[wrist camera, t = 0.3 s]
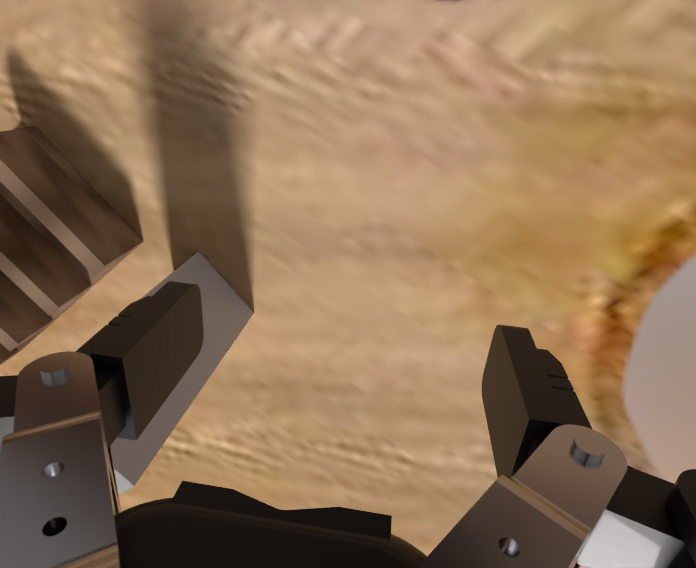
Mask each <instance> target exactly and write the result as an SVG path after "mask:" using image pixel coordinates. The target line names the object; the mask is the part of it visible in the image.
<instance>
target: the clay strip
mask: <svg viewBox="0 0 696 568" xmlns="http://www.w3.org/2000/svg"><path fill="white" fill-rule="evenodd" d="M169 281H175V282H182V283H190V284H196V285H198V286H199V288H200V291H201V302H202V315H203V329H204V339H203V344H202V348H201V351H200V353H199V355H198V356H197V358H196V359H195V361H194V362H193V363H192V365H191V366H190V367H189V369H188V370H187V372H186V373H185V374H184V376H183V377H182V379H181V380H180V381H179V383H178V384H177V385H176V387H175V388H174V390H173V391H172V392H171V394H170V395H169V396H168V398H167V399H166V401H165V402H164V403H163V405H162V406H161V408H160V409H159V410H158V412H157V413H156V414H155V416H154V417H153V419H152V420H151V421H150V423H149V424H148V426H147V427H146V428H145V430H144V431H143V432H142V434H141V435H140V437H139V438H138V439H137V441H136V440H129V439H123V438H116V439H115V441H114V442H113V443H112V444H111V446H110V447H111V451H112V457H113V463H114V469H115V475H116V482H117V488H118V494H119V495H120V494H121V493H123V492H125V491H127V490H128V489H130V488H132V487H133V486H135V484H136V483H137V481H138V480H139V478H140V477H141V475H142V474H143V473H144V471H145V470H146V468H147V467H148V465H149V464H150V462H151V461H152V460H153V458H154V457H155V455H156V454H157V452H158V451H159V449H160V448H161V447H162V445H163V444H164V442H165V441H166V439H167V438H168V436H169V435H170V434H171V432H172V431H173V429H174V428H175V426H176V425H177V423H178V422H179V421H180V419H181V418H182V416H183V415H184V413H185V412H186V410H187V409H188V408H189V406H190V405H191V403H192V402H193V400H194V399H195V397H196V396H197V395H198V393H199V392H200V390H201V389H202V387H203V386H204V384H205V383H206V382H207V380H208V379H209V377H210V376H211V374H212V373H213V371H214V370H215V368H216V367H217V366H218V364H219V363H220V361H221V360H222V358H223V357H224V355H225V354H226V353H227V351H228V350H229V348H230V347H231V345H232V344H233V342H234V341H235V340H236V338H237V337H238V335H239V334H240V332H241V331H242V329H243V328H244V327H245V325H246V324H247V322H248V321H249V319H250V318H251V316H252V315H253V314H254V312H253V311H252V310H251V309H250V308H249V306H248V305H247V304H246V303H245V302H244V301H243V300H242V299H241V298H240V297H239V295H238V294H237V293H236V292H235V291H234V290H233V289H232V288H231V287H230V286H229V284H228V283H227V282H226V281H225V280H224V279H223V278H222V277H221V276H220V274H219V273H218V272H217V271H216V270H215V269H214V268H213V267H212V266H211V265H210V263H209V262H208V261H207V260H206V259H205V258H204V257H203V256H202V255H201V254H200V252H199V251H198V252H197V253H196V254H194V255H193V256H192V257H191V258H190V259H188V260H187V261H186V262H185V263H183V264H182V265H181V266H180V267H179V268H177V269H176V270H175V271H174V272H172V273H171V274H170V275H169V276H168V277H166V278H165V279H164V280H163V281H162V282H160V283H159V284H158V285H157V286H155V287H154V288H153V289H152V290H151V291H149V292H148V293H147V294H146V295H145V296H143V297H142V298H144V297H146V296H153V295H154V294H155V293H156V292H157V291H158V290H159V289H160V288H162V287H163V286H164V285H165V284H166V283H167V282H169ZM142 298H141V299H142Z"/></svg>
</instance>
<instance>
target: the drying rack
mask: <svg viewBox="0 0 696 568" xmlns="http://www.w3.org/2000/svg"><path fill="white" fill-rule="evenodd" d="M142 242H143V241H142V240H141V239H140V238H139V236H138V235H137V234H136V233H135V232H134V231H133V230H132V229H131V228H130V227H129V226H128V225H127V224H126V223H125V222H124V221H123V219H122V218H121V217H120V216H119V215H118V214H117V213H116V212H115V211H114V210H113V209H112V208H111V207H110V206H109V205H108V203H107V202H106V201H105V200H104V199H103V198H102V197H101V196H100V195H99V194H98V193H97V192H96V191H95V190H94V189H93V187H92V186H91V185H90V184H89V183H88V182H87V181H86V180H85V179H84V178H83V177H82V176H81V175H80V174H79V173H78V171H77V170H76V169H75V168H74V167H73V166H72V165H71V164H70V163H69V162H68V161H67V160H66V159H65V158H64V157H63V155H62V154H61V153H60V152H59V151H58V150H57V149H56V148H55V147H54V146H53V145H52V144H51V143H50V142H49V141H48V139H47V138H46V137H45V136H44V135H43V134H42V133H41V132H40V131H39V130H38V129H37V128H36V127H35V126H34V127H27V128H21V129H15V130H9V131H3V132H0V365H1V364H3V363H4V362H5V361H7V360H8V359H10V358H11V357H12V356H14V355H15V354H17V353H18V352H19V351H21V350H22V349H23V348H24V347H25V346H26V345H27V344H29V343H30V342H31V341H32V340H33V339H34V338H35V337H36V336H38V335H39V334H40V333H41V332H42V331H43V330H44V329H45V328H47V327H48V326H49V325H50V324H51V323H52V322H53V321H54V320H56V319H57V318H58V317H59V316H60V315H61V314H62V313H63V312H65V311H66V310H67V309H68V308H69V307H70V306H71V305H72V304H74V303H75V302H76V301H77V300H78V299H79V298H80V297H81V296H83V295H84V294H85V293H86V292H87V291H88V290H89V289H90V288H92V287H93V286H94V285H95V284H96V283H97V282H98V281H99V280H101V279H102V278H103V277H104V276H105V275H106V274H107V273H108V272H110V271H111V270H112V269H113V268H114V267H115V266H116V265H117V264H119V263H120V262H121V261H122V260H123V259H124V258H125V257H126V256H128V255H129V254H130V253H131V252H132V251H133V250H134V249H135V248H137V247H138V246H139V245H140V244H141V243H142Z"/></svg>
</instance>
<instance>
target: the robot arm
mask: <svg viewBox="0 0 696 568" xmlns="http://www.w3.org/2000/svg"><path fill="white" fill-rule="evenodd" d="M438 1H462V0H438ZM203 339H204V329H203V315H202V302H201V291H200V288H199V286H198V285H196V284H190V283H182V282H175V281H169V282H167V283H166V284H165V285H164V286H163V287H162V288H160V289H159V290H158V291H157V292H156V293H155V294H154V295H153V296H146V297H144V298H142V299H140V300H138V301H136V302H133V303H131V304H130V305H128V306H127V307H126V308H125V309H124V310H123V311H122V312H120V313H119V314H118V317H117V316H116V317H115V318H114V319H112V320H111V321H110V322H109V324H108V325H106V326H104V327H103V328H102V329H101V330H100V331H99V332H98V333H96V334H95V335H94V336H93V337H92V338H91V339H90V340H88V341H87V342H86V343H85V344H84V345H83V346H82V347H80V348H79V349H78V350H77V351H76V352H59V353H54V354H49V355H46V356H43V357H41V358H38V359H36V360H34V361H33V362H31V363H29V364H28V365H26V366H25V367H24V368H23V369H22V370H21V371H20V373H19V375H15V376H0V568H580V566H583V567H586V568H696V469H691V470H686V471H684V472H682V473H681V474H680V475H679V477H678V479H677V481H676V483H675V484H673V483H671V482H668V481H665V480H663V479H660V478H657V477H655V476H652V475H649V474H647V473H644V472H641V471H639V470H637V469H634V468H632V467H630V466H628V464H627V460H626V457H625V455H624V454H623V452H622V451H621V449H620V448H619V447H618V446H617V445H616V444H615V443H614V442H613V441H611V440H610V439H609V438H607V437H606V436H604V435H603V434H601V433H599V432H597V431H595V430H593V429H592V427H591V425H590V423H589V421H588V419H587V417H586V415H585V412H584V410H583V408H582V406H581V404H580V402H579V400H578V398H577V395H576V393H575V392H573V387H572V385H571V383H570V381H569V380H568V376H567V374H566V372H565V370H564V368H563V366H562V364H561V362H559V361H558V360H557V359H556V358H555V357H554V356H553V355H552V354H551V353H550V352H549V351H548V350H543V349H537V348H536V346H535V343H534V341H533V339H532V336H531V334H530V331H529V329H527V328H521V327H514V326H506V325H497V326H496V328H495V331H494V334H493V338H492V342H491V346H490V350H489V354H488V358H487V361H486V365H485V369H484V373H483V379H482V398H483V403H484V408H485V414H486V419H487V424H488V429H489V434H490V440H491V445H492V450H493V455H494V460H495V465H496V471H497V476H498V479H497V480H496V481H495V482H494V483H493V484H492V485H491V486H490V488H489V489H488V490H487V491H486V492H485V493H484V494H483V495H482V497H481V498H480V499H479V500H478V501H477V502H476V503H475V504H474V505H473V507H472V508H471V509H470V510H469V511H468V512H467V513H466V514H465V515H464V517H463V518H462V519H461V520H460V521H459V522H458V523H457V524H456V525H455V527H454V528H453V529H452V530H451V531H450V532H449V533H448V534H447V535H446V537H445V538H444V539H443V540H442V541H441V542H440V543H439V544H438V546H437V547H436V548H435V549H434V550H433V551H432V552H431V553H430V554H429V556H428V557H427V556H426V555H425V554H424V553H422V552H421V551H420V550H418V549H417V548H416V547H414V546H413V545H411V544H410V543H408V542H406V541H405V540H403V539H401V538H399V537H397V536H395V535H392V534H391V518H392V516H390V515H384V514H378V513H372V512H366V511H360V510H354V509H348V508H342V507H331V508H315V509H300V510H279V509H276V508H274V507H272V506H270V505H267V504H265V503H263V502H260V501H258V500H256V499H254V498H251V497H249V496H247V495H244V494H242V493H240V492H238V491H235V490H233V489H228V488H222V487H216V486H210V485H204V484H198V483H192V482H186V481H182V482H181V484H180V486H179V488H178V490H177V492H176V493H175V495H174V497H173V498H166V499H160V500H155V501H151V502H147V503H143V504H140V505H137V506H135V507H132V508H129V509H127V510H125V511H123V512H121V507H120V500H119V494H118V488H117V482H116V475H115V469H114V463H113V457H112V451H111V447H110V446H111V444H112V443H113V442H114V441H115V439H116V438H123V439H129V440H136V441H137V439H138V438H139V437H140V435H141V434H142V432H143V431H144V430H145V428H146V427H147V426H148V424H149V423H150V421H151V420H152V419H153V417H154V416H155V414H156V413H157V412H158V410H159V409H160V408H161V406H162V405H163V403H164V402H165V401H166V399H167V398H168V396H169V395H170V394H171V392H172V391H173V390H174V388H175V387H176V385H177V384H178V383H179V381H180V380H181V379H182V377H183V376H184V374H185V373H186V372H187V370H188V369H189V367H190V366H191V365H192V363H193V362H194V361H195V359H196V358H197V356H198V355H199V353H200V351H201V348H202V344H203Z"/></svg>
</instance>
